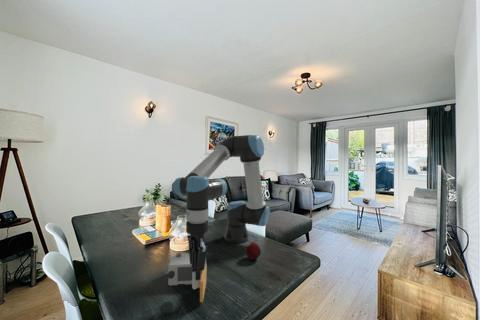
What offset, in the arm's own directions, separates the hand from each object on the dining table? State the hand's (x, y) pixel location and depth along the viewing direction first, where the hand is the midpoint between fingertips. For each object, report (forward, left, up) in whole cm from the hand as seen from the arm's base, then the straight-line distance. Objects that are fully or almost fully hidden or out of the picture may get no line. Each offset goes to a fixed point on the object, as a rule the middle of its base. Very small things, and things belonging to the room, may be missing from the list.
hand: (196, 287), depth 72 cm
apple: (-25, -28, -5) cm, 38 cm away
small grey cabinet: (+5, -15, -5) cm, 16 cm away
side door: (-2, -4, -4) cm, 6 cm away
